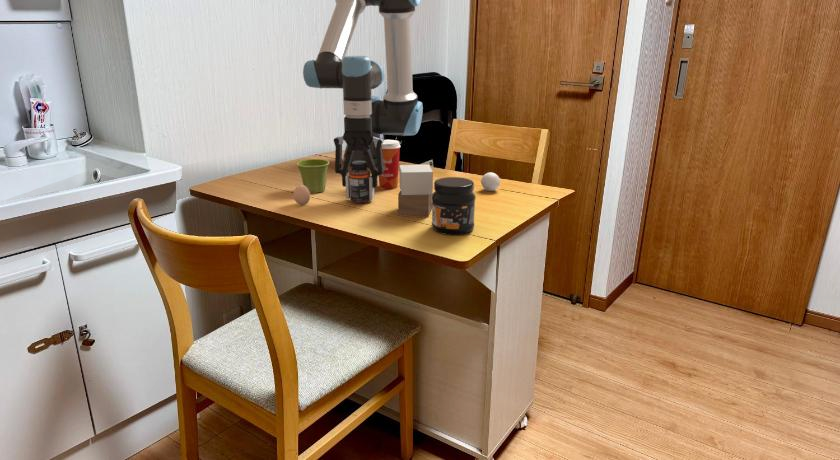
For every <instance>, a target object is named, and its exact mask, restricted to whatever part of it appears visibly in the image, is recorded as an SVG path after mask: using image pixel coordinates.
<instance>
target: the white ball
mask: <svg viewBox="0 0 840 460" xmlns="http://www.w3.org/2000/svg"><path fill="white" fill-rule="evenodd" d="M480 182H481V186H482V188H483V189H484V190H485V191H488V192H493V191H496V190H497V189H498V188H499V186H500V183H501V180H500V177H499V175H497V174H496V173H494V172H491V171H490V172H489V171H488V172H487V173H485V174H484V175H482V177H481V180H480Z"/></svg>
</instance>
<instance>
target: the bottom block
mask: <svg viewBox="0 0 840 460" xmlns="http://www.w3.org/2000/svg"><path fill="white" fill-rule="evenodd" d="M397 196H398V197H397V198H398V200H397V202H398V203H397V207H398V209H397V211H398V212H397V215H398V216H401V217H415V216H417V217H418V218H419V217H421V218H429V217H430V214H431V212H432V194H428V195H402V194H401V190H400V191H399V192H398V194H397ZM417 217H416V218H417Z"/></svg>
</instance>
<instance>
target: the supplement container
mask: <svg viewBox="0 0 840 460" xmlns="http://www.w3.org/2000/svg"><path fill="white" fill-rule="evenodd" d="M433 189H434V191H433V194H432V210H431V212H432V213H431V215H432V216H431V220H432V221H431V227H432V229H433V230H434V231H436V232H437V233H439V234H442V233H443V235H448V234H449V235H448V236H459V234H461V235H465V234H467V233H470V232H471V231H473V229H474V227H475V211H476V210H475V208H476V194H475V193H474V191H475V190H474V189H475V183H474V181H473V180H472V179H469V178H465V177H457V176H450V177H449V176H448V177H441V178H438V179H435V181H433Z"/></svg>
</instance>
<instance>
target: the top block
mask: <svg viewBox="0 0 840 460" xmlns="http://www.w3.org/2000/svg"><path fill="white" fill-rule="evenodd" d="M398 176H399V190H400V191H401V194H402V195H428V194H433V193H434V191H433V189H434V171H433V169H432V168H431V165H430V164H399V171H398Z"/></svg>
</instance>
